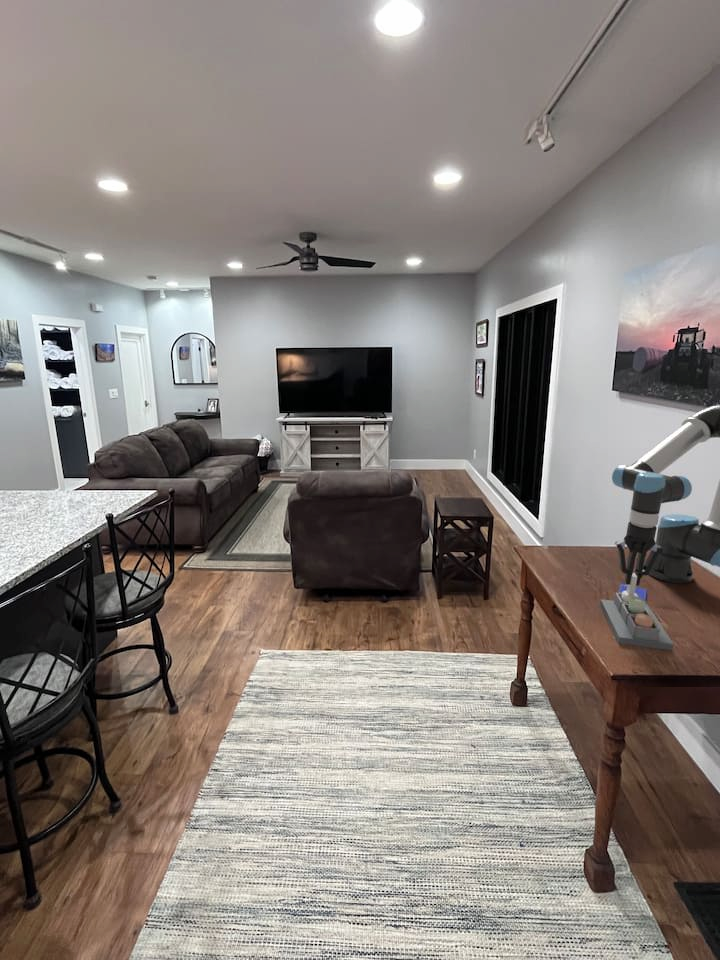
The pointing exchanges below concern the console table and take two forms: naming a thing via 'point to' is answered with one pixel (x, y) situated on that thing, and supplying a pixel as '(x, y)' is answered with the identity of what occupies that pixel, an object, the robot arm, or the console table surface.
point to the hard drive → (638, 591)
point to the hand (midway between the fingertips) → (630, 593)
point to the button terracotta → (643, 620)
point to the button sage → (636, 605)
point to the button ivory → (626, 596)
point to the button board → (634, 626)
